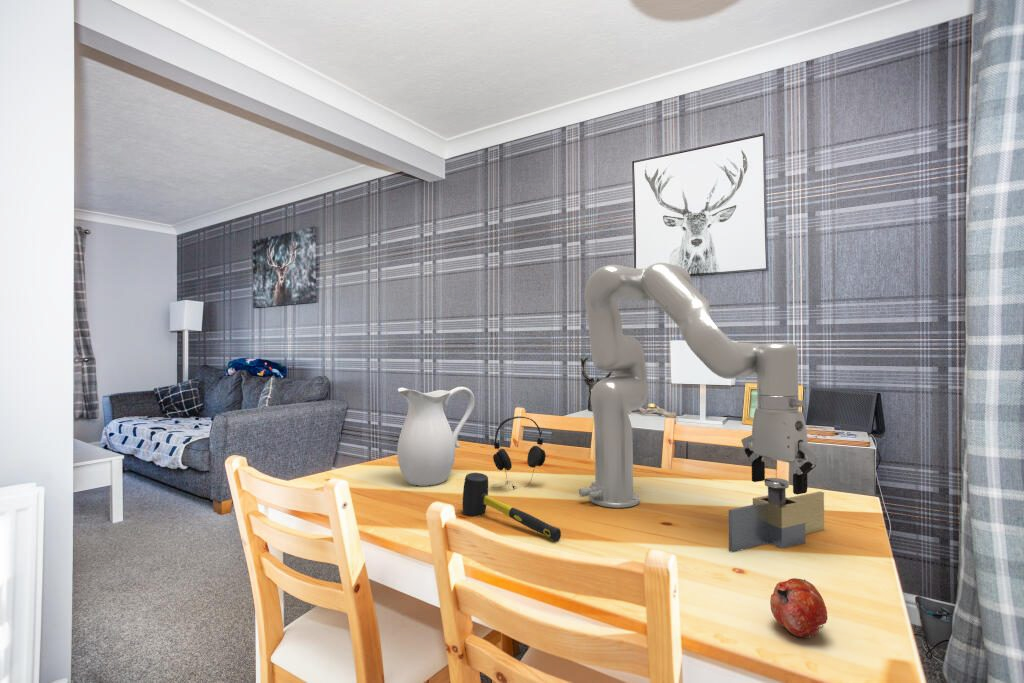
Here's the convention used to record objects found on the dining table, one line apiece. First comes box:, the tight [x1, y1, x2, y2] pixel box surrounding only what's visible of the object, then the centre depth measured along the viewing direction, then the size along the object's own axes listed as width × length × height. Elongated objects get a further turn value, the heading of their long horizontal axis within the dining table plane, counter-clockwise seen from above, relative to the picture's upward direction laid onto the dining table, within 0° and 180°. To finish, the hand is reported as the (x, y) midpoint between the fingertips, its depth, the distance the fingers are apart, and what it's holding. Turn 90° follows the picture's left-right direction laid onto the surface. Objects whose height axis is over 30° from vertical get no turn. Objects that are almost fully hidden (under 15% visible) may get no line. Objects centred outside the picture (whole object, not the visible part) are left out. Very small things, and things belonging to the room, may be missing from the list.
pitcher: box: [396, 386, 476, 487], centre depth 155 cm, size 24×17×28 cm
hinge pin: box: [764, 477, 790, 506], centre depth 106 cm, size 4×4×12 cm
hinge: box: [728, 491, 825, 553], centre depth 106 cm, size 27×7×8 cm, turn 114°
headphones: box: [492, 415, 547, 491], centre depth 146 cm, size 15×11×20 cm
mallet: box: [462, 472, 562, 542], centre depth 116 cm, size 29×6×10 cm, turn 45°
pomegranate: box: [769, 577, 828, 638], centre depth 73 cm, size 7×7×10 cm
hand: (778, 486), depth 106 cm, fingers open, 9 cm apart
